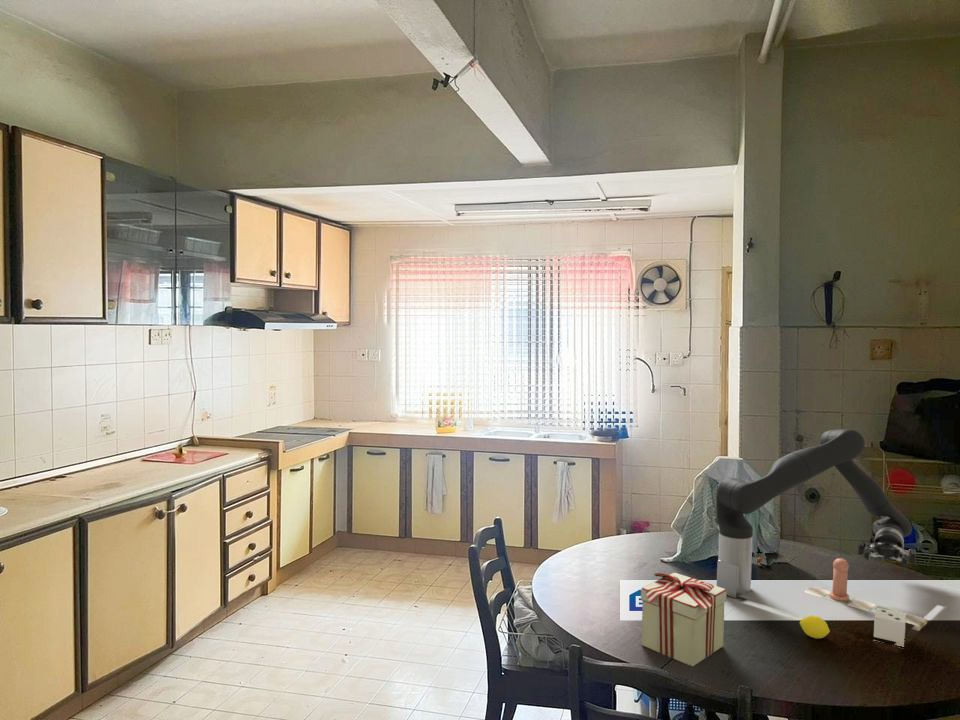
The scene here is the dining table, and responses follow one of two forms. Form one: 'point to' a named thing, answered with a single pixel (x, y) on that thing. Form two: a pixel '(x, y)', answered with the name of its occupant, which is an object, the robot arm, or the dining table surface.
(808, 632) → the lemon
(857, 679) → the dining table surface
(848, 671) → the dining table surface
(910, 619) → the board
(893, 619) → the die
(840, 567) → the pawn
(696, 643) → the gift box
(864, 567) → the dining table surface
